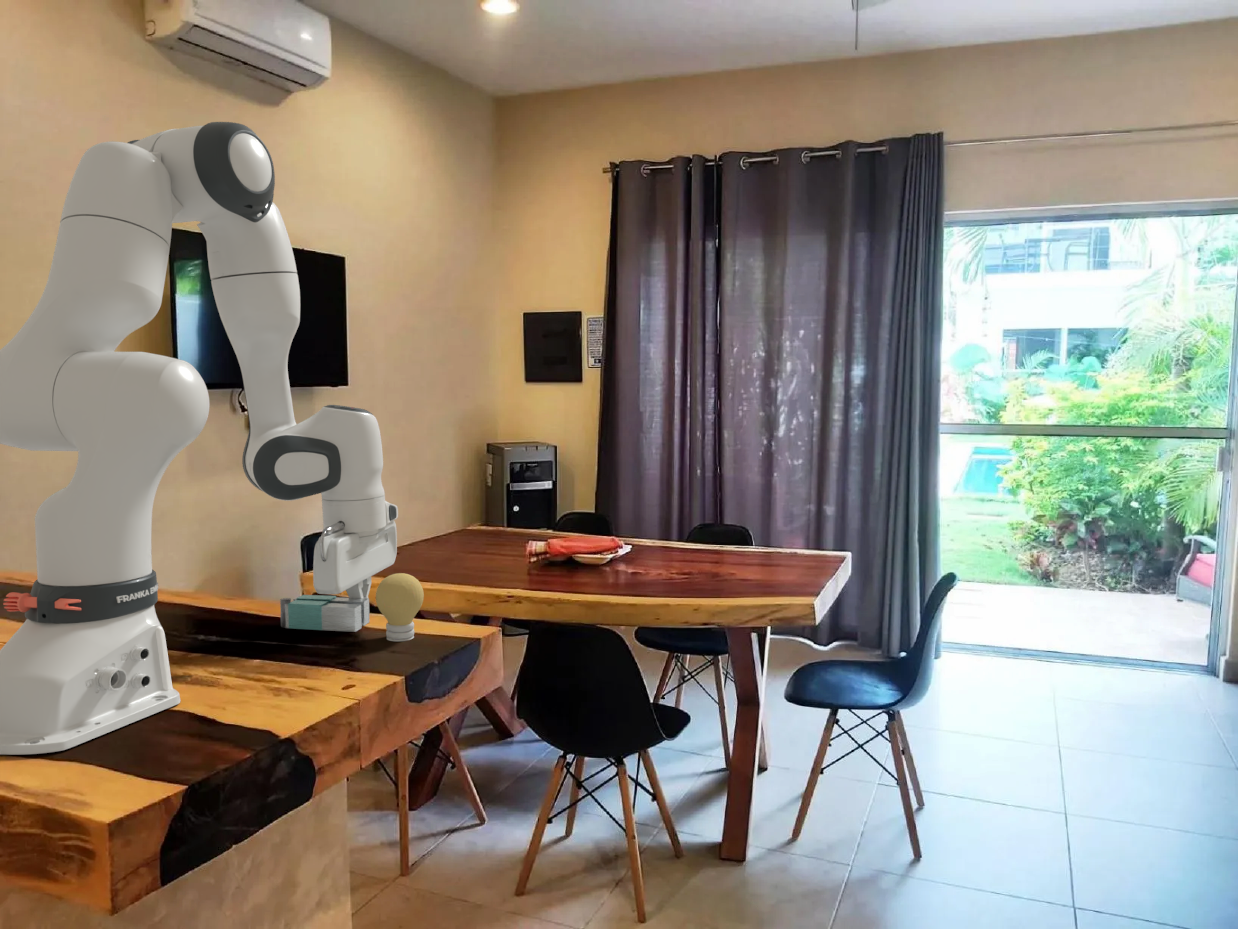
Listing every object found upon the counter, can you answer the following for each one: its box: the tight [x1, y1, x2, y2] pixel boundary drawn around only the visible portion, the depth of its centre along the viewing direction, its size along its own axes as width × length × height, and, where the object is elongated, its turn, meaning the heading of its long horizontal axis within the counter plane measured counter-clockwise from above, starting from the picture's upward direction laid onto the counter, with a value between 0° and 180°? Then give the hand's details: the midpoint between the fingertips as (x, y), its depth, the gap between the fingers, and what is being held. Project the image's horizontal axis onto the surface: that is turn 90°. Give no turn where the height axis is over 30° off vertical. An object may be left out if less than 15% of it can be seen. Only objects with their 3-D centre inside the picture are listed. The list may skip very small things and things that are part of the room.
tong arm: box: [292, 594, 370, 627], centre depth 130 cm, size 2×10×4 cm, turn 85°
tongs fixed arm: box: [279, 597, 363, 633], centre depth 128 cm, size 2×12×4 cm, turn 81°
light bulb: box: [375, 572, 425, 642], centre depth 123 cm, size 6×6×10 cm
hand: (359, 609), depth 132 cm, fingers closed
